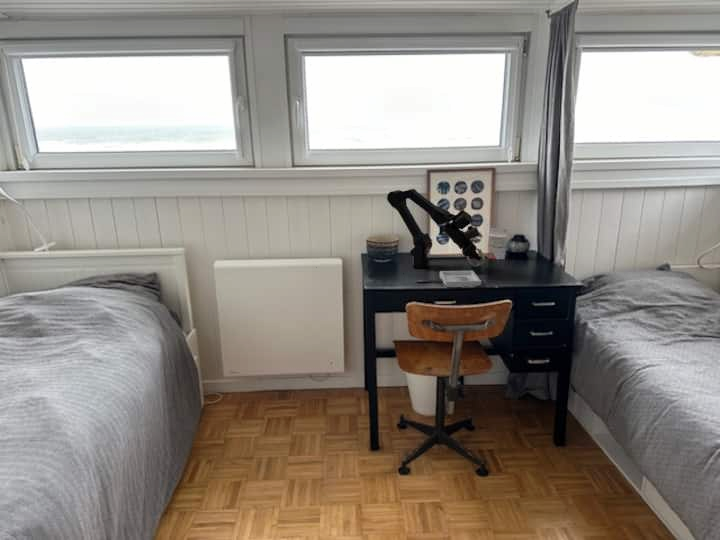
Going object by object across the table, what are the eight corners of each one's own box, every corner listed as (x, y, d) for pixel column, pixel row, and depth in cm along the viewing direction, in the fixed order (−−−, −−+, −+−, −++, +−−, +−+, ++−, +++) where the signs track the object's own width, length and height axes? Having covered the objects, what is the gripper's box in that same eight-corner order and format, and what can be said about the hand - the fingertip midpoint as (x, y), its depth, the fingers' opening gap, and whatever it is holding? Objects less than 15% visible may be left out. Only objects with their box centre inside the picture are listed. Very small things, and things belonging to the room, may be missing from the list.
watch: (485, 274, 219) (486, 250, 216) (467, 273, 220) (468, 250, 217) (483, 270, 225) (484, 247, 221) (465, 270, 225) (466, 247, 222)
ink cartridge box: (486, 258, 243) (488, 229, 238) (487, 256, 247) (489, 227, 243) (504, 260, 240) (506, 230, 236) (505, 257, 244) (507, 228, 240)
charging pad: (418, 288, 202) (418, 282, 202) (413, 277, 216) (413, 271, 215) (481, 287, 203) (481, 281, 202) (472, 276, 217) (472, 270, 216)
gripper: (472, 226, 207) (497, 251, 209) (466, 217, 224) (488, 240, 227) (452, 244, 210) (477, 268, 212) (448, 234, 227) (470, 257, 230)
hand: (479, 258), depth 220 cm, fingers open, 5 cm apart
